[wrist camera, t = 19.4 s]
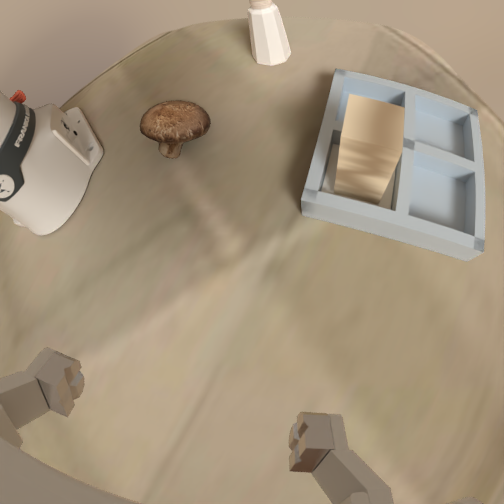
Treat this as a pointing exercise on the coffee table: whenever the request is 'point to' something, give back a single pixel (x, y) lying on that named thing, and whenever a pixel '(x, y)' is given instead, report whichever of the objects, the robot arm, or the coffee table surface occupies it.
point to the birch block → (368, 148)
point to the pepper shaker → (267, 33)
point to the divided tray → (408, 171)
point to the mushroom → (174, 125)
